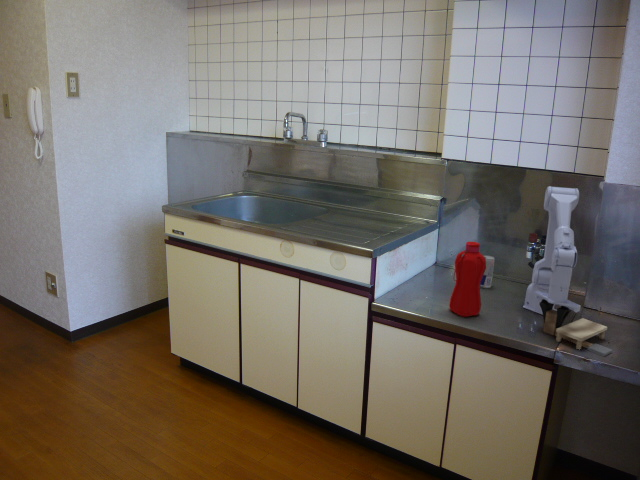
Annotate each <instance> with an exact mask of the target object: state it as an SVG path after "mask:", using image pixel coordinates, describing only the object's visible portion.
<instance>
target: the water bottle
mask: <svg viewBox="0 0 640 480" xmlns="http://www.w3.org/2000/svg"><path fill="white" fill-rule="evenodd" d="M480 247H481V244H480V242H477V241H467V242H466V244H465V250H461V252H459V253H458V254H457V255H456V258H455V260H454V272H453V273H454V274H453V276H452V277H453V281H454V282H455V285H454V288H453V291H452V293H451V296H450V299H449V304H448V305H449V310H450V311H451V312H453V313H455V314H456V315H458V316H459V317H465V318H467V317H472V316H479V315H480V312H481V308H482V299H481V297H482V296H481V287H480V283H481V280H482V277H483V275H484V272H485V270H486V258H485V257H484V256H483V254H482V253H481V252H480ZM455 276H456V277H455ZM455 278H456V279H455Z"/></svg>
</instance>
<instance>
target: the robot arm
mask: <svg viewBox="0 0 640 480" xmlns="http://www.w3.org/2000/svg"><path fill="white" fill-rule="evenodd" d="M579 199H580V191H579V189H578V188H576V187H575V188H573V187H572V188H571V187H560V186H559V187H558V186H551V185H549V186H547V187H546V189H545V194H544V200H543V201H544V202H543V210H545V211H546V212H548V223H547V231H546V239H545V245H544V246H545V247H544V255H543V258H542V259H539V260H537V261H536V262H535V264H534V266H533V270H532V276H531V283H530V284H528V286H527V289H526V292H525V293H526V294H525V297H524V304H523V306H522V308H524V309H527V310H529V311H531V312H534V313H537V314H540V315H542V318H543V325H544V324H545V318H546V312H547V311H549V310H552V309H553V310H556V311H557V322H556V328H560V327H562V326H563V323H564V322H565V320H566V318H567V317H568V316H569V315H570V313H571V312H572V311H573V312H574V313H575V314H577V313H580V311H581V308H582V306H581V305H580V304H578V303H575V302H573V301H571V300H570V299H568V296H569V290H570V284H571V280H572V275H573V271H574V270H573V269H574V268H575V267H576V265H577V262H578V261H577V260H578V250H577V247H576V246H575V232H574V230H573V229H572V228H571V217H572V212H573V211H574V210H575V209H576V207H577V205H578V204H579ZM555 306H559V307H557V308H556V309H555Z"/></svg>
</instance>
